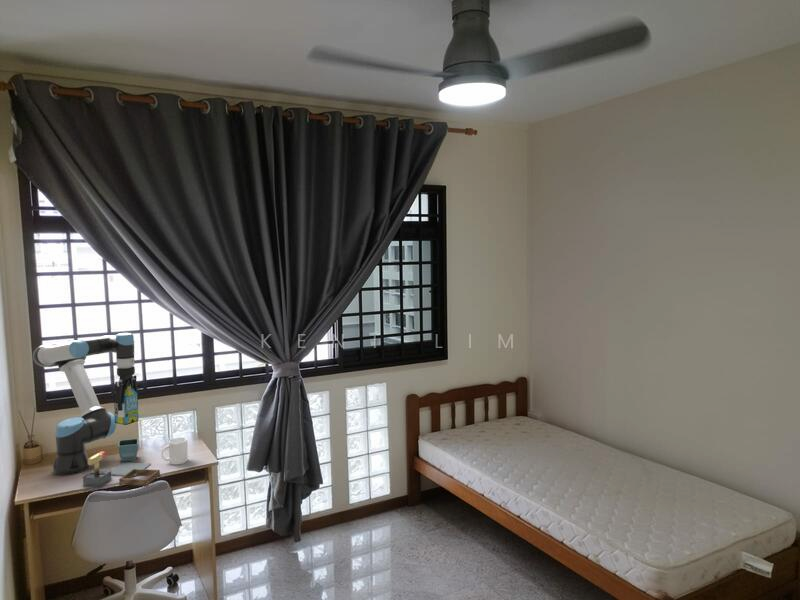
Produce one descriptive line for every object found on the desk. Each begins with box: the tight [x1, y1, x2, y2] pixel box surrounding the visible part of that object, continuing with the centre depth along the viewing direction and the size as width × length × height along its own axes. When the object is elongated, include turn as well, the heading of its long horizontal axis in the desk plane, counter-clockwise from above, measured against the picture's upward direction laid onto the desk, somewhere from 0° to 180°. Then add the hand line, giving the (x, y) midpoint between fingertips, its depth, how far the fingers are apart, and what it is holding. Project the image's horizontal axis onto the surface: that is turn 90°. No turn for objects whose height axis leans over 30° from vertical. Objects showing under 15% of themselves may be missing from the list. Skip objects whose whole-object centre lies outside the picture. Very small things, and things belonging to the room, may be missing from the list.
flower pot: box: [117, 438, 139, 463], centre depth 275 cm, size 9×9×9 cm
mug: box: [161, 437, 189, 466], centre depth 272 cm, size 9×12×11 cm
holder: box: [118, 468, 161, 487], centre depth 252 cm, size 13×12×2 cm
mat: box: [110, 461, 152, 477], centre depth 263 cm, size 14×14×1 cm
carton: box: [113, 386, 139, 426], centre depth 260 cm, size 7×8×18 cm
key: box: [88, 450, 106, 474], centre depth 248 cm, size 9×2×8 cm, turn 173°
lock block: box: [82, 469, 112, 488], centre depth 248 cm, size 8×8×4 cm
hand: (127, 413), depth 260 cm, fingers closed on carton, 8 cm apart
